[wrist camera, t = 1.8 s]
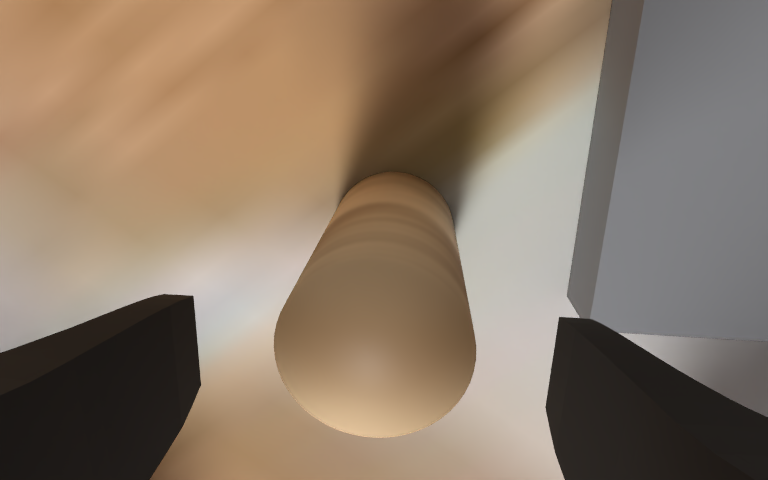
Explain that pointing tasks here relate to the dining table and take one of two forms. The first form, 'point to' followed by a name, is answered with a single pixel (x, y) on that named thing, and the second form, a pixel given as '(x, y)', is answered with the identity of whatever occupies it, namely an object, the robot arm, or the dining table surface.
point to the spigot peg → (380, 314)
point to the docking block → (678, 174)
